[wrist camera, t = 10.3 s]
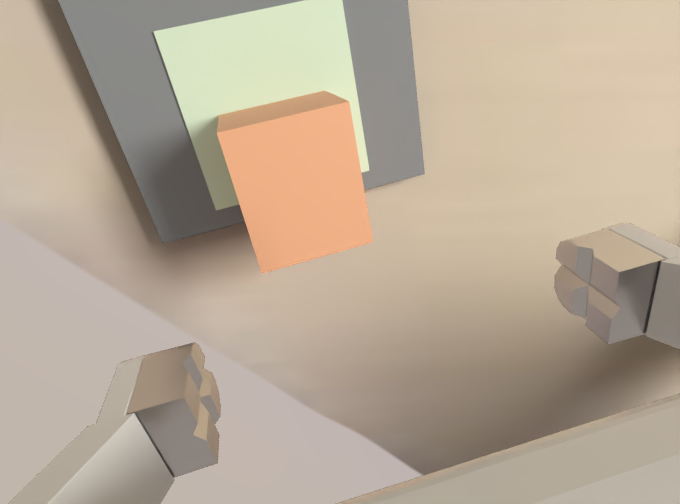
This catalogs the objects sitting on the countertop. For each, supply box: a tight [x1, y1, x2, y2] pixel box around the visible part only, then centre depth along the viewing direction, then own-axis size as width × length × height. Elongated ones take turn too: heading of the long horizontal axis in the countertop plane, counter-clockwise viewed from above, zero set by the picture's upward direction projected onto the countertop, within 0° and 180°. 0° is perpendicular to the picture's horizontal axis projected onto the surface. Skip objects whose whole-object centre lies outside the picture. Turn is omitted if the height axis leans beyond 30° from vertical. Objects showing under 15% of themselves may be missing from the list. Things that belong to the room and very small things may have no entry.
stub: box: [217, 90, 373, 273], centre depth 19 cm, size 5×6×4 cm
